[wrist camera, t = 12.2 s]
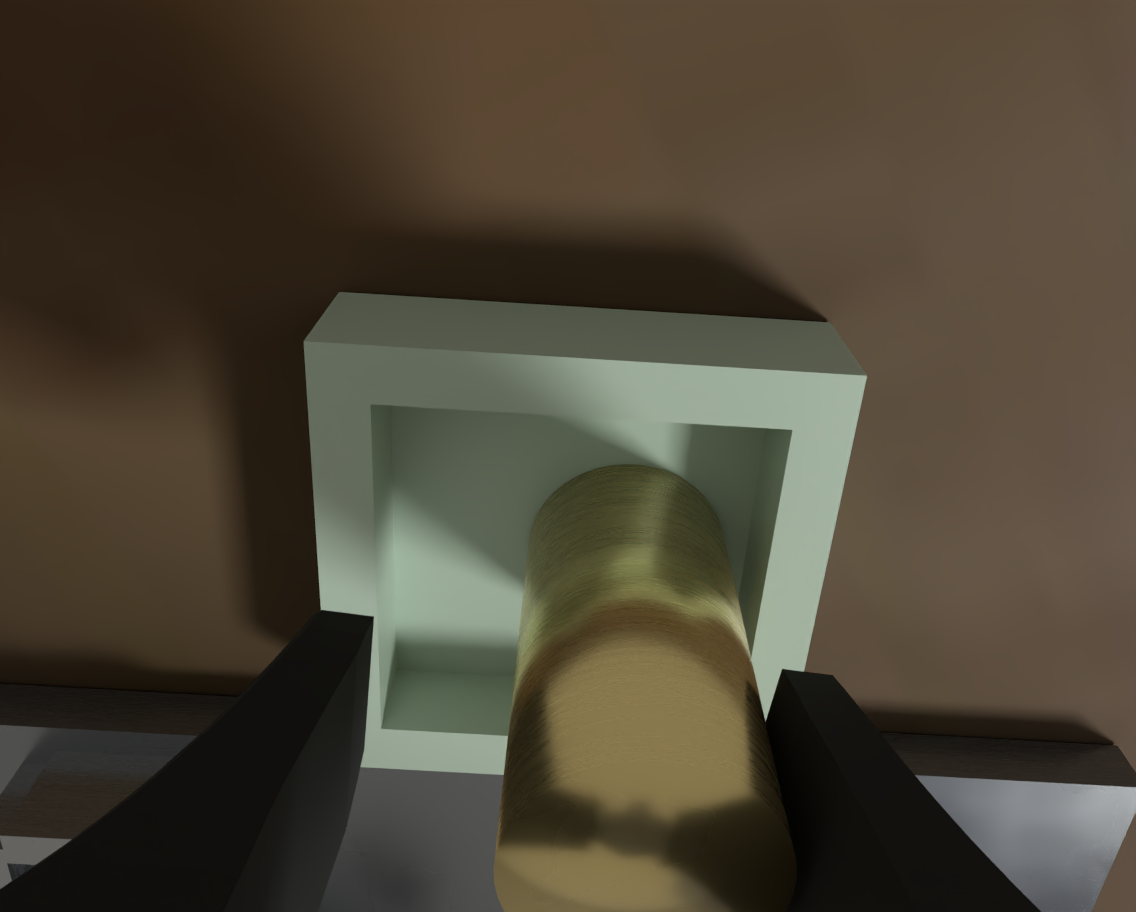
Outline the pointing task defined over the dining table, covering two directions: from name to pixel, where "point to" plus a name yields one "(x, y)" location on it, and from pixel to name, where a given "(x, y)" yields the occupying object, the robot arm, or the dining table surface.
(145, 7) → the dining table surface
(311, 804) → the robot arm
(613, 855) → the olive brown rounded cylinder
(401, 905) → the crank plate
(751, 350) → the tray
